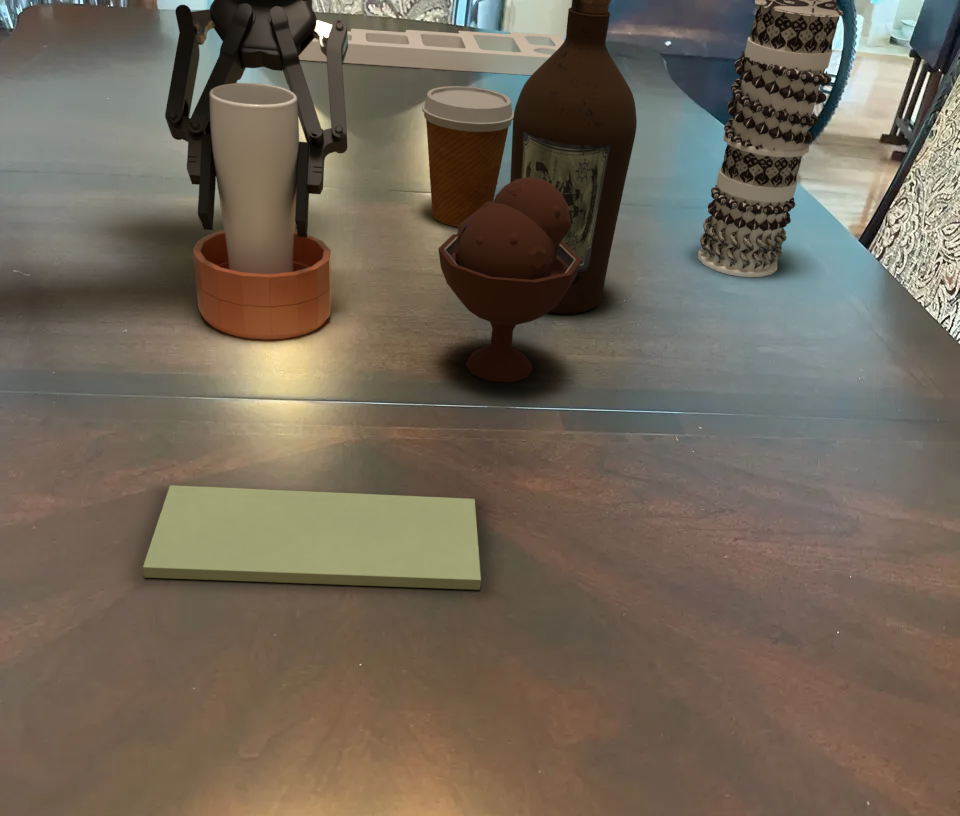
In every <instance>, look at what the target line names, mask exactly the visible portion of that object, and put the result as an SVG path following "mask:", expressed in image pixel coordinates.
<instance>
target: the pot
mask: <svg viewBox="0 0 960 816" xmlns="http://www.w3.org/2000/svg"><path fill="white" fill-rule="evenodd" d="M192 257H193V267H194V268H193V269H194V277H195V289H196V299H197V309H198V310H199V313H200V314H201V316H202V317H203V319H204V321H206V323H207V324H209V325H210V326H211V327H213V328H214V329H215V330H217V331H220V332H222V333H225V334H227V335H231V336H234V337H239V338H244V339H252V340H284V339H292V338H296V337H300V336H304V335H307V334H310V333H312V332H314V331H316V330H318V329H320V328H321V327H322V326H323V325H325V323H326V322H327V320H328V319H329V318H330V317H331V310H332V250H331V249H330V247H328V245H327V244H326V243H325V242H324V241H323V240H322V239H320V238H318V237H315V236H313V235H311V234H308V233H307V237H298V236H297V230H294V248H293V272H288V273H277V274H258V273H243V272H238V271H234V270H230V269H229V263H228V253H227V246H226V239H225V232H224V229H223V230H220V231H215V232H212V233H209V234H208V235H206V236H204V237H202V238H200V239H199V240H197V242H196V243H195V245H194V247H193V250H192Z"/></svg>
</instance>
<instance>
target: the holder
mask: <svg viewBox="0 0 960 816" xmlns="http://www.w3.org/2000/svg"><path fill="white" fill-rule="evenodd" d="M457 32H458V33H457ZM457 32H442V31H429V30H418V29H417V30H416V29H405V31H403V32H402V31H390V30H376V29H364V28H363V29H362V28H350V30H349V31H348V30H347V33H348V49H347V52H346V56H345V59H344V62H343V64H354V65H367V66H368V65H370V66H383V67H401V68H414V69H415V68H416V69H429V70H430V69H431V70H446V71H460V72H473V73H474V72H475V73H489V74H503V75H518V76H531V75H532V74H533V73H534V72H535V71H536V70H537V69H538V68H539V67H540V66H541V65H542V64H543V63H544V62H545V61H546V60H548V59H549V58H550V57H551V56H552V55H553V54H554V53H555V52H556V51H557V50H558V49H559V48H560V46H561V45H562V44H563V43H564V41H565V39H564V37H563V36H562V35H561V34H560V35H559V34H549V33H548V34H547V33H532V32H521V31H520V32H518V31H509V33H497V32H495V33H494V32H483V31H468V30H467V31H466V30H458V31H457ZM299 60H300V61H308V62H309V61H311V62H325V63H327V56H325V55H324V54H323V53H322V52H321V50H320V42H319V41H318V40H317V39H316V38H314V39H313V40H312V41H311V43H310V44H309V45H308V46H307V47H306V48H305V49H304V51H303V52H302V53H301V54H300V55H299Z"/></svg>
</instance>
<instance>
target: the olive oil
mask: <svg viewBox="0 0 960 816" xmlns="http://www.w3.org/2000/svg"><path fill="white" fill-rule="evenodd" d="M610 4H611V0H571V5H570V7H569V8H568V10H567V11H568V12H567V20H566V29H565V30H566V31H565V39H564V40H565V41H564V43H563V44H562V45H561V46H560V48H559V49H558V50H557V51H556V52H555V53H554V54H553V55H552V56H551V57H550V58H549V59H548V60H546V61H545V62H544V63H543V64H542V65H541V66H540V67H539V68H538V69H537V70H536V71H535V72H534V73H533V74H532V75H530V76H529V77H528V79H527V80H526V81H525V83H524V85H523V87H522V88H521V90H520V93H519V96H518V97H517V101H516V104H515V107H514V110H513V112H514V116H513V120H512V131H511V132H512V133H511V155H510V157H511V158H510V179H509V181H510V182H509V183H511V182H512V181H514V180H516V179H521V178H526V177H532V178H538V179H542V180H544V181H546V182H548V183H550V184H552V185H553V186H554V187H556V188H557V189H558V190H559V191H560V192H561V193H562V195H563V197H564V199H565V201H566V203H567V204H568V209H569V214H570V220H571V225H572V226H571V227H570V229H569V230H568V232H567V234H566V235H565V237H564V238H563V240H562V241H561V242H562V243H565V244H566V245H567V246H568V247H569V248H570V249H571V250H572V251H573V252H574V253H575V254H576V255H577V256H578V257H579V258H580V259H581V263H580V266H579V269H578V271H577V274H576V277H575V279H574V281H573V282H572V284H571V286H570V287H569V289H568V290H567V292H566V294H565V295H564V296H563V298H562V299H561V301H560V302H559V304H558V305H557V306H556V307H555V308H553V309H552V310H551V311H550V312H548V313H547V314H558V315H559V314H560V315H561V314H562V315H569V314H570V315H571V314H579V313H584V312H588V311H591V310H592V309H595V308H596V307H597V306H598V305H600V303H601V301H602V297H603V293H604V288H605V282H606V277H607V272H608V267H609V261H610V256H611V251H612V247H613V241H614V236H615V231H616V227H617V222H618V217H619V212H620V209H621V208H620V207H621V202H622V198H623V193H624V189H625V184H626V179H627V175H628V171H629V166H630V161H631V157H632V152H633V148H634V144H635V139H636V133H637V126H638V125H637V119H638V117H637V110H636V101H635V97H634V94H633V92H632V90H631V87H630V85H629V83H628V82H627V81H626V79H625V77H624V76H623V74H622V72H621V71H620V69H619V67H618V66H617V64H616V62H615V61H614V59H613V57H612V56H611V54H610V53H609V50H608V48H607V43H606V42H607V35H608V30H609V24H610V17H611V13H610V12H609V7H610Z"/></svg>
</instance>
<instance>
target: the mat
mask: <svg viewBox="0 0 960 816" xmlns="http://www.w3.org/2000/svg"><path fill="white" fill-rule="evenodd" d="M477 524H478V522H477V510H476V500H475V498H468V497H467V498H463V497H442V496H441V497H440V496H420V495H419V496H418V495H397V494H378V493H377V494H375V493H353V492H350V493H349V492H331V491H308V490H284V489H281V490H280V489H263V488H244V487H243V488H240V487H218V486H217V487H216V486H197V485H195V486H194V485H173V484H170V485H169V486H168V490H167V493H166V496H165V499H164V502H163V505H162V509H161V511H160V514H159V517H158V520H157V523H156V526H155V529H154V532H153V535H152V538H151V542H150V544H149V546H148V547H149V548H148V550H147V554H146V557H145V559H144V562H143V565H142V571H143V577H144V578H148V579H173V580H174V579H175V580H178V579H179V580H200V581H201V580H202V581H203V580H204V581H228V582H256V583H257V582H259V583H283V584H284V583H285V584H307V585H308V584H309V585H310V584H311V585H312V584H313V585H334V586H335V585H336V586H337V585H339V586H365V587H390V588H391V587H392V588H420V589H422V588H424V589H444V590H473V591H480V590H481V584H482V575H481V562H480V549H479V537H478V535H479V534H478V525H477Z"/></svg>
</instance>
